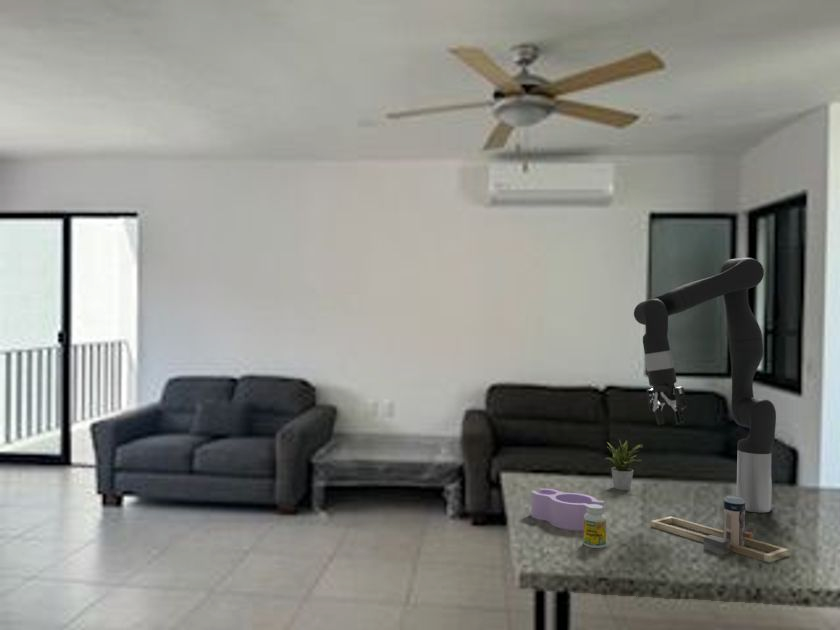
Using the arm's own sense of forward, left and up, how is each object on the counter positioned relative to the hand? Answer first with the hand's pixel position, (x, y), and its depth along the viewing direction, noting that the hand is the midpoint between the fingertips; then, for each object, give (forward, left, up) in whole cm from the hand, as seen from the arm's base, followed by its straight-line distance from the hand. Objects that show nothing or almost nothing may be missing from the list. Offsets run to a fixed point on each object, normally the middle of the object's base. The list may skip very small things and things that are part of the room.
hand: (670, 424), depth 196 cm
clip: (+30, -12, -27) cm, 42 cm away
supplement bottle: (+39, +6, -26) cm, 47 cm away
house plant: (-15, -28, -26) cm, 41 cm away
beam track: (+10, +20, -26) cm, 34 cm away
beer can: (+9, +25, -26) cm, 37 cm away
